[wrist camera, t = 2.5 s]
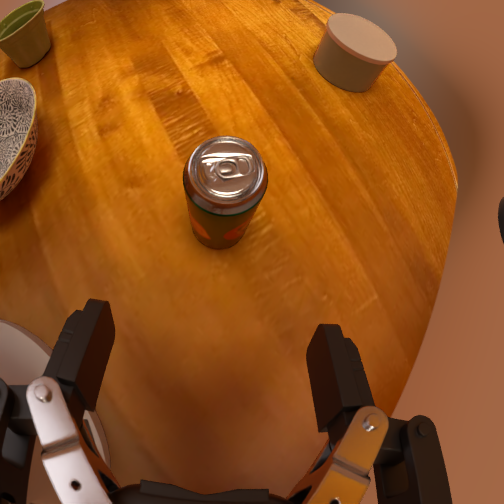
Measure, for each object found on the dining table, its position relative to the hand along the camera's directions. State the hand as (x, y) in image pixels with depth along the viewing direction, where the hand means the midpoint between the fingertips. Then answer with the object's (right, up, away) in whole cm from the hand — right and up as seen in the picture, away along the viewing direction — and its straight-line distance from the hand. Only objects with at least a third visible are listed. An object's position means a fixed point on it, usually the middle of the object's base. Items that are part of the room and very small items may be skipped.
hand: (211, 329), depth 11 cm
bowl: (-27, +13, +15) cm, 34 cm away
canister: (+14, +28, +23) cm, 39 cm away
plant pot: (-32, +33, +18) cm, 49 cm away
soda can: (-2, +6, +17) cm, 18 cm away
